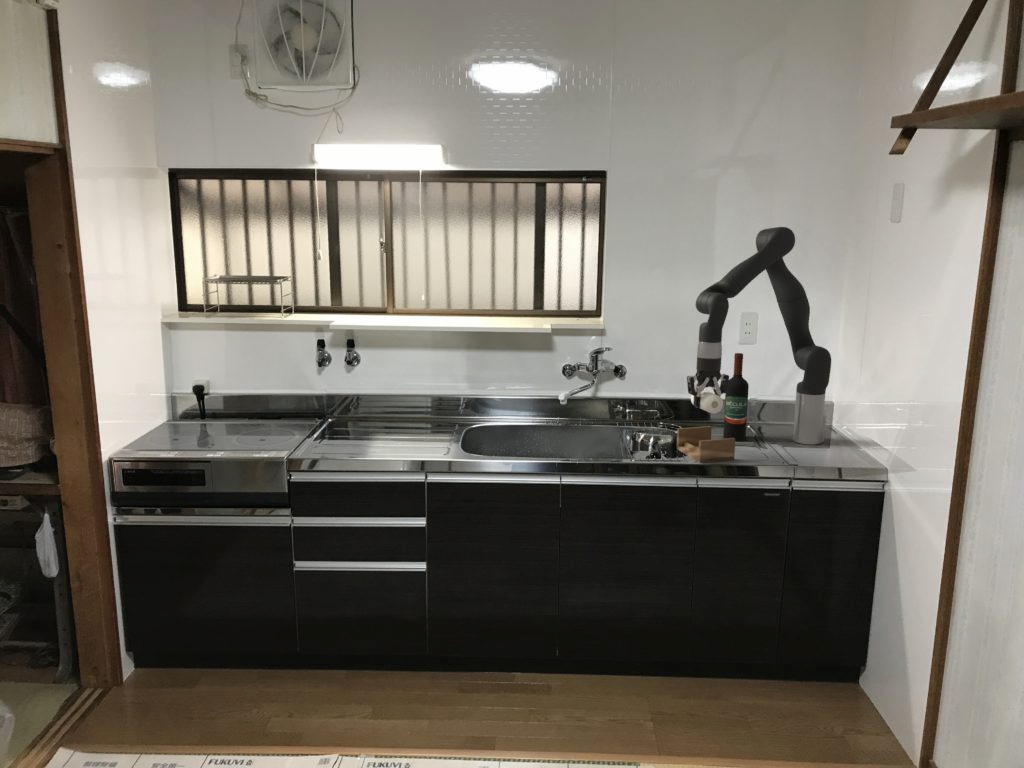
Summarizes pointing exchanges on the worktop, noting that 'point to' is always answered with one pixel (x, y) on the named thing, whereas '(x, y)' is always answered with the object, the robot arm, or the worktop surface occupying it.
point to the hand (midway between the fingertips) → (706, 406)
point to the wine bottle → (736, 403)
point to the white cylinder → (709, 402)
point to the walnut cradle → (704, 445)
